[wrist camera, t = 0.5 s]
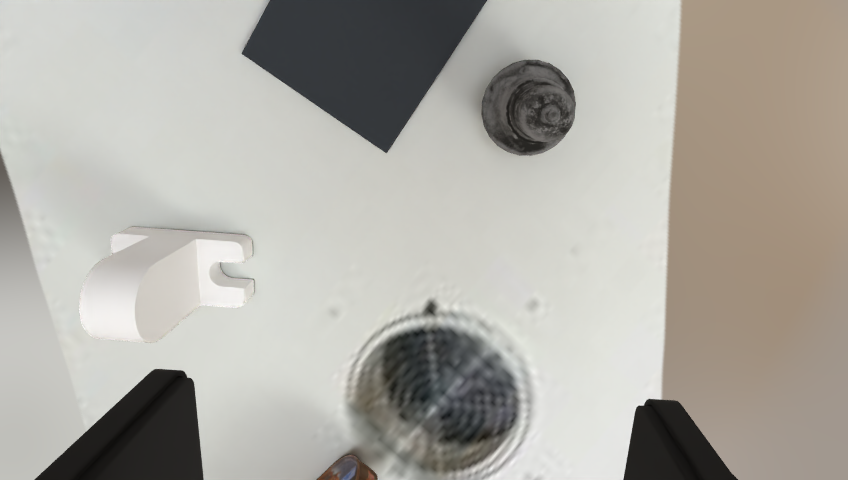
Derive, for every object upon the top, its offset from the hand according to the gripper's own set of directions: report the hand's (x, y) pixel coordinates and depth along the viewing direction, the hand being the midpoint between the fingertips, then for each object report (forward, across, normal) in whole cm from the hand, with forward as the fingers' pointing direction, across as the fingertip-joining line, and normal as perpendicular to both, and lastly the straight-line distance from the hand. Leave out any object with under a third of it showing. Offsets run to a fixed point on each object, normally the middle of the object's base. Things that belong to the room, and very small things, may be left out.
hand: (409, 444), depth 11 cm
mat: (+28, +4, -14) cm, 32 cm away
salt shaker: (+28, -5, -6) cm, 30 cm away
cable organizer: (+28, +19, +6) cm, 35 cm away
